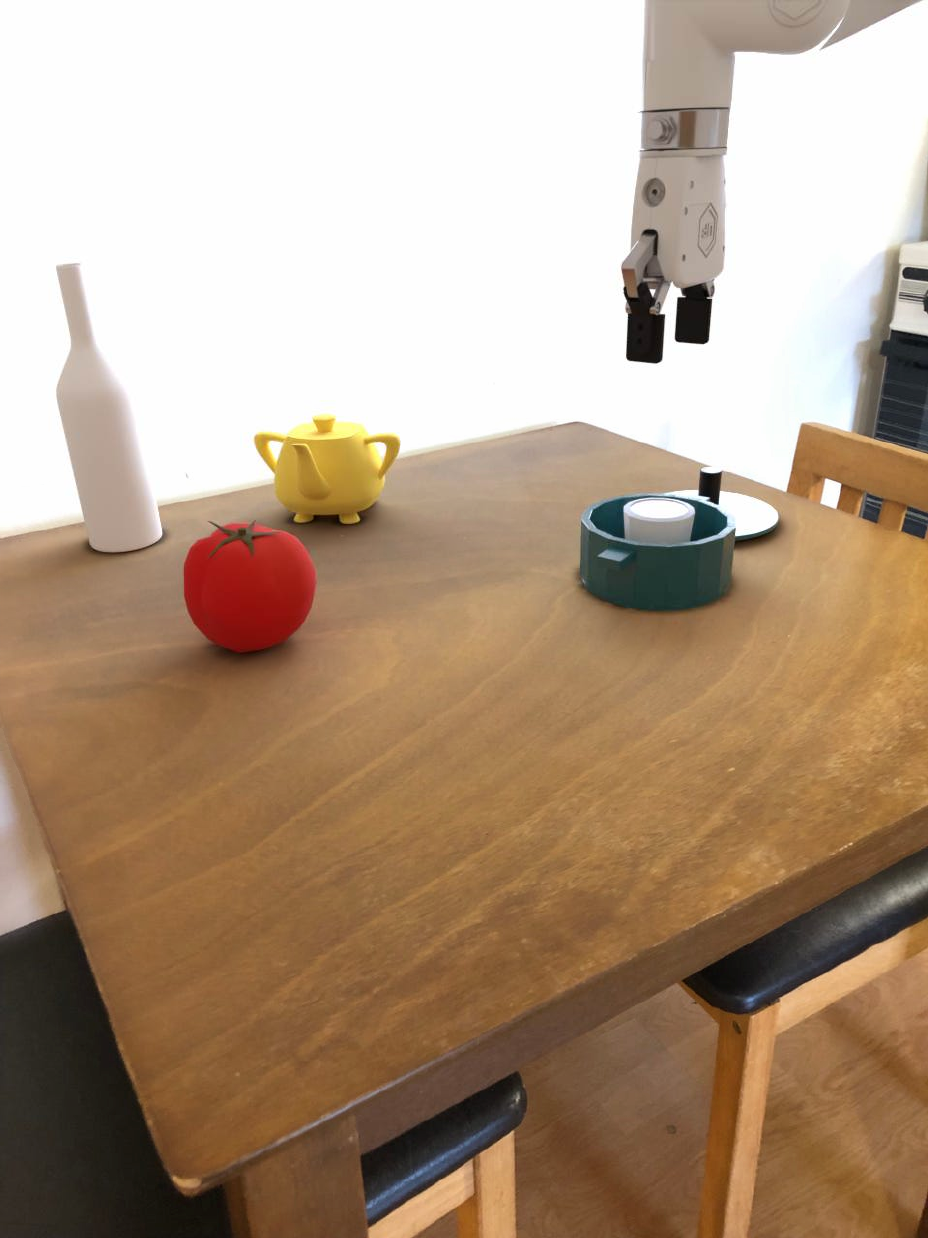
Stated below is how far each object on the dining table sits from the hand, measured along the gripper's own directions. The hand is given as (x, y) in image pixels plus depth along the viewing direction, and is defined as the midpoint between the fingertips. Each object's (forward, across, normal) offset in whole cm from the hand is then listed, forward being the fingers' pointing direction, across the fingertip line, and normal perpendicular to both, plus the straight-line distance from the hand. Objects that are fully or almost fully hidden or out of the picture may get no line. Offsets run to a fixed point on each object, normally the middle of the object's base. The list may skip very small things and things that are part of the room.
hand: (668, 351), depth 84 cm
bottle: (+22, -22, +56) cm, 64 cm away
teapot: (+22, -4, +41) cm, 47 cm away
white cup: (+22, 0, 0) cm, 22 cm away
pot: (+22, 0, 0) cm, 22 cm away
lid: (+22, +18, +2) cm, 28 cm away
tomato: (+22, -31, +24) cm, 45 cm away
